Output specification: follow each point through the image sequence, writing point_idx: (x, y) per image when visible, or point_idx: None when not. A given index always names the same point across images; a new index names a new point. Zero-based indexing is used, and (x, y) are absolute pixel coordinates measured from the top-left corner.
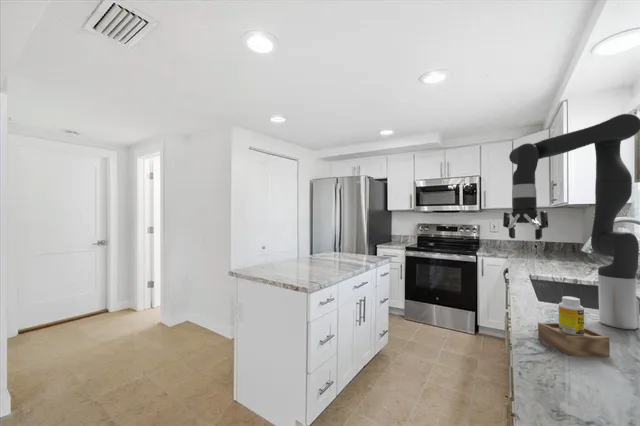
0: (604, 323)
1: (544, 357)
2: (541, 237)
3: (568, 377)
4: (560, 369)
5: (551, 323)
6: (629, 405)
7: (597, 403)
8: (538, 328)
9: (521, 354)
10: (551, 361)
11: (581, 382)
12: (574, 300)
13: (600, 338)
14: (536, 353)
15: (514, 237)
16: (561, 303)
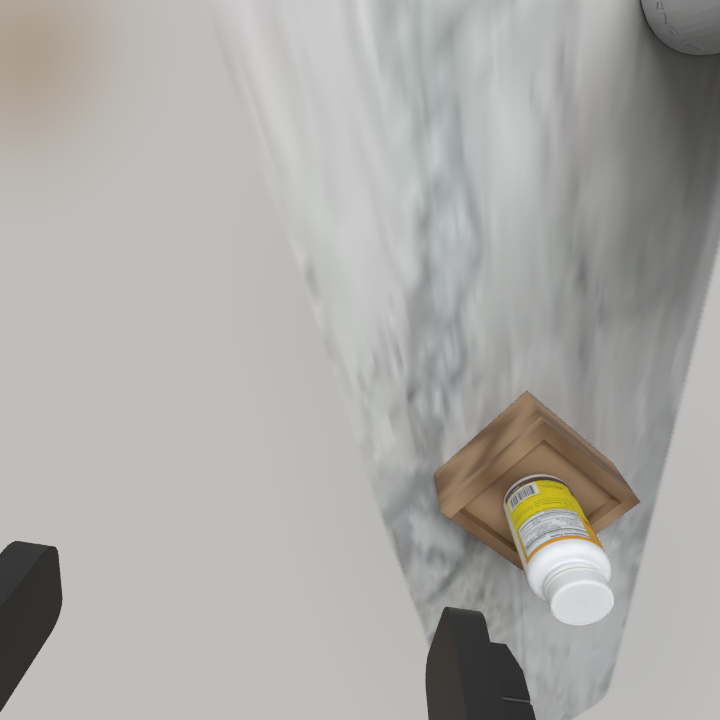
0: (658, 34)
1: (470, 585)
2: (509, 662)
3: (522, 639)
4: (506, 618)
5: (479, 489)
6: (609, 665)
7: (564, 688)
8: (439, 497)
9: (424, 605)
10: (486, 595)
11: (543, 642)
12: (592, 621)
13: (613, 518)
14: (451, 577)
15: (49, 567)
16: (539, 589)
